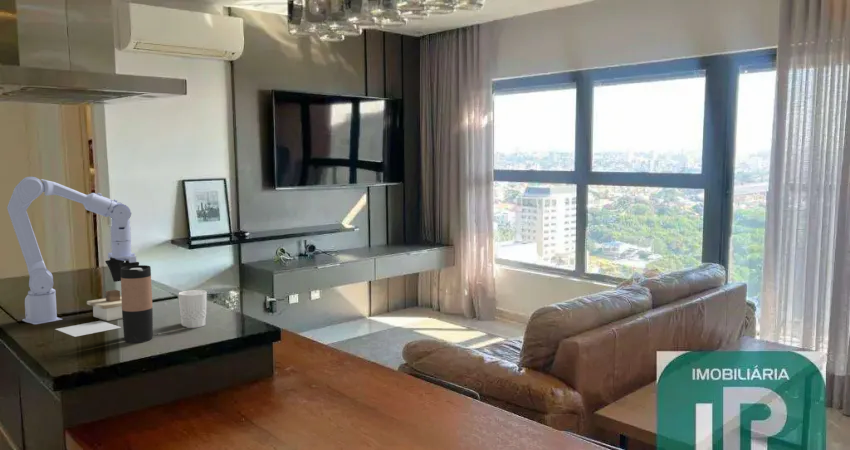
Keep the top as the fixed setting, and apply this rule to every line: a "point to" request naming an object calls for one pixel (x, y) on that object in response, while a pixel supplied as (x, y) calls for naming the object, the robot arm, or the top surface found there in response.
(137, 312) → the travel mug
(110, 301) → the lid
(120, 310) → the white box
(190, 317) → the white cup
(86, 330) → the mat
